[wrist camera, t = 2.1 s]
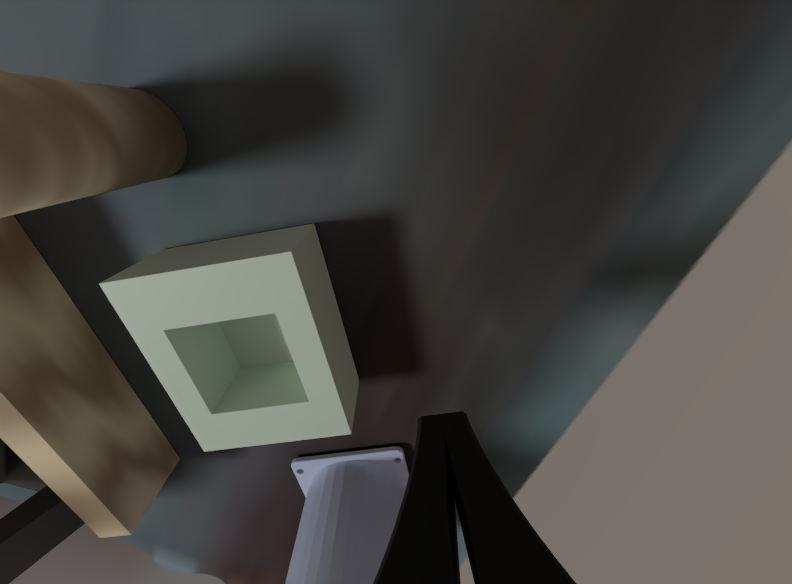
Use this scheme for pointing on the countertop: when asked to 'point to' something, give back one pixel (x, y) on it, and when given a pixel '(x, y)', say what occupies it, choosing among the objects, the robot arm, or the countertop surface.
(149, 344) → the socket block
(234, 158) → the countertop surface
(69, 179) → the dowel
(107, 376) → the oak wall
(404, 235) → the countertop surface
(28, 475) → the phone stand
